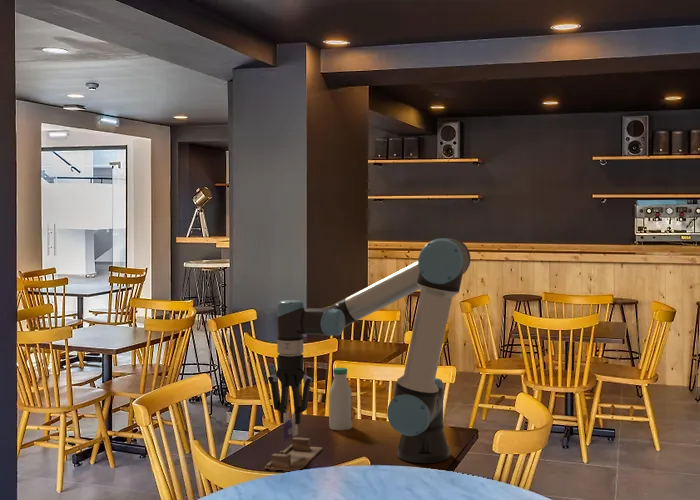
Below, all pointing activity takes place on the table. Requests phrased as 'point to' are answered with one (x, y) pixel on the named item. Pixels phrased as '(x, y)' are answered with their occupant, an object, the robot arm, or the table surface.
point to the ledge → (294, 456)
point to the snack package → (287, 429)
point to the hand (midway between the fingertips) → (290, 434)
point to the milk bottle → (340, 401)
